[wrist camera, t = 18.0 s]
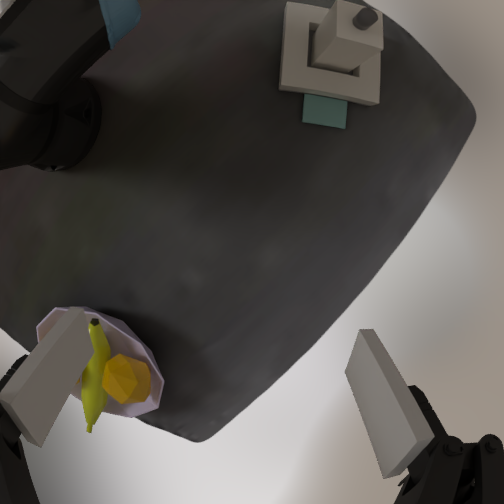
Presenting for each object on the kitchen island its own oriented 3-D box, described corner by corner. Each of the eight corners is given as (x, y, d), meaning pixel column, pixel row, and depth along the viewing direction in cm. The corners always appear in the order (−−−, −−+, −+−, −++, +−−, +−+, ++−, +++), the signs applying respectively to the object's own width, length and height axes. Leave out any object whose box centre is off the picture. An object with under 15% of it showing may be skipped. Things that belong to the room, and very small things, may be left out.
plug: (346, 74, 32) (393, 43, 19) (310, 66, 32) (344, 28, 18) (347, 43, 30) (391, 4, 17) (312, 36, 30) (343, -11, 17)
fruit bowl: (68, 262, 42) (31, 293, 31) (196, 351, 48) (187, 398, 37) (39, 352, 49) (16, 382, 38) (137, 416, 55) (125, 453, 44)
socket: (366, 133, 36) (376, 132, 32) (275, 118, 35) (278, 116, 32) (370, 30, 30) (379, 22, 27) (284, 11, 29) (287, 1, 26)
